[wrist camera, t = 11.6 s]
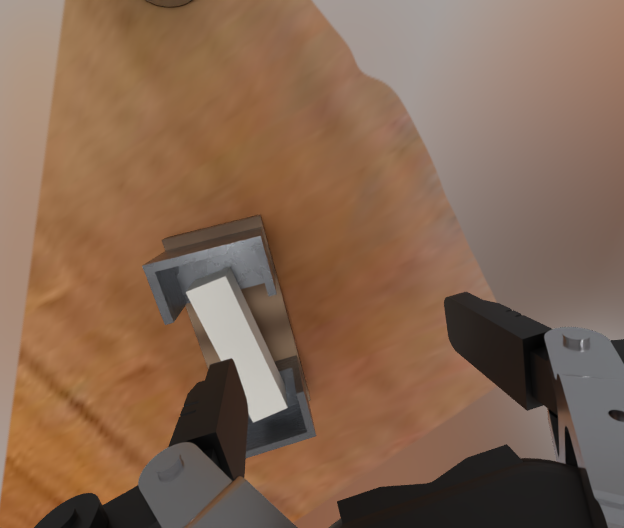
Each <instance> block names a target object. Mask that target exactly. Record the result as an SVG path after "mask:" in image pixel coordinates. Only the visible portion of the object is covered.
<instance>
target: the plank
mask: <svg viewBox="0 0 624 528" xmlns="http://www.w3.org/2000/svg"><path fill="white" fill-rule="evenodd" d="M258 227H261V228H262V232H263V235H264V239H265V243H266V246H267V250H268V253H269V257H270V261H271V264H272V268H273V272H274V276H275V284H276V292H277V295H273V296H270V297H269V296H268V293H267V289H266V286H265V283H262V284H259V285H255V286H251V287H247V288H244V289H241V292H242V294H243V296H244V298H245V300H246V302H247V304H248V307H249V309H250V311H251V313H252V315H253V317H254V320H255V322H256V324H257V326H258V328H259V330H260V332H261V335H262V337H263V339H264V341H265V343H266V345H267V347H268V350H269V352H270V354H271V356H272V358H273V360H274V362H275V361H278V360H281V359H285V358H288V357H292V356H295V355H297V359H298V363H299V366H300V370H301V374H302V377H303V381H304V385H305V388H306V392H307V396H308V401H310V396H309V392H308V388H307V384H306V381H305V377H304V373H303V370H302V366H301V362H300V359H299V355H298V351H297V348H296V344H295V340H294V337H293V333H292V329H291V326H290V322H289V318H288V315H287V311H286V307H285V304H284V300H283V296H282V293H281V289H280V285H279V282H278V278H277V274H276V271H275V267H274V263H273V260H272V256H271V252H270V249H269V245H268V241H267V238H266V234H265V230H264V227H263V223H262V219H261V216H260V215H256V216H252V217H248V218H244V219H240V220H236V221H232V222H228V223H224V224H220V225H216V226H212V227H208V228H203V229H199V230H195V231H191V232H187V233H183V234H179V235H175V236H171V237H167V238H165V239H163V240H162V242H163V245H164V248H165V251H167V250H170V249H174V248H178V247H182V246H186V245H190V244H194V243H198V242H202V241H206V240H210V239H214V238H218V237H222V236H226V235H230V234H234V233H238V232H242V231H246V230H250V229H254V228H258ZM185 306H186V309H187V312H188V314H189V317H190V320H191V323H192V325H193V328H194V331H195V334H196V337H197V339H198V342H199V345H200V348H201V350H202V353H203V356H204V359H205V361H206V364H207V367H208V369H209V366H210V364H213V363H216V362H220V361H221V360H220V358H219V356H218V354H217V352H216V350H215V348H214V346H213V344H212V342H211V340H210V339H209V337H208V335H207V333H206V331H205V329H204V327H203V325H202V323H201V321H200V319H199V317H198V315H197V313H196V312H195V310H194V308H193V306H192V304H191V303H187V304H186V305H185Z"/></svg>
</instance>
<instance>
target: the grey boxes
mask: <svg viewBox="0 0 624 528" xmlns="http://www.w3.org/2000/svg"><path fill="white" fill-rule="evenodd" d="M142 267H143V269H144V272H145V274H146V277H147V280H148V282H149V285H150V287H151V290H152V292H153V295H154V298H155V300H156V303H157V305H158V308H159V311H160V313H161V316H162V318H163V321H164V324H165V325H166V324H170V323H174V321H175V320H176V318H177V317H178V315H179V314H180V312H181V311H182V309H183V308H184V307H185V305H186V304H187V303H191V302H190V300H189V298H188V296H187V294H186V291H187V290H188V288H189V287H190V286H191V284H192V283H193V282H194V281H195V280H197V279H200V278H202V277H205V276H207V275H210V274H212V273H215V272H217V271H220V270H222V269H225V268H227V267H230V268H231V270H232V272H233V274H234V277H235V279H236V281H237V283H238V285H239V287H240V289H244V288H247V287H251V286H255V285H259V284H262V283H265V286H266V289H267V293H268V296H269V297H270V296H273V295H277V292H276V284H275V276H274V272H273V268H272V264H271V261H270V257H269V253H268V250H267V246H266V243H265V239H264V235H263V232H262V228H261V227H258V228H254V229H250V230H246V231H242V232H238V233H234V234H230V235H226V236H222V237H218V238H214V239H210V240H206V241H202V242H198V243H194V244H190V245H186V246H182V247H178V248H174V249H170V250H167V251H165V252H163V253H162V254H160V255H159V256H157V257H155V258H154V259H152V260H151V261H149V262H147V263H146V264H144V265H143V266H142ZM274 363H275V365H276V367H277V369H278V371H279V373H280V375H281V378H282V380H283V382H284V384H285V388H286V396H287V405H288V408H286V409H284V410H282V411H279V412H277V413H275V414H272V415H270V416H268V417H265V418H263V419H261V420H258V421H256V422H254V423H253V421H252V419H251V418H250V416H249V414H248V428H247V443H246V458H248V457H251V456H255V455H258V454H261V453H264V452H267V451H270V450H274V449H277V448H280V447H283V446H286V445H290V444H293V443H296V442H299V441H302V440H305V439H309V438H312V437H315V436H316V433H315V429H314V424H313V419H312V415H311V410H310V405H309V401H308V396H307V392H306V388H305V385H304V381H303V377H302V374H301V370H300V366H299V363H298V359H297V355H295V356H292V357H288V358H285V359H281V360H278V361H275V362H274Z"/></svg>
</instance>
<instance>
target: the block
mask: <svg viewBox="0 0 624 528" xmlns="http://www.w3.org/2000/svg"><path fill="white" fill-rule="evenodd" d="M186 294H187V296H188V298H189V300H190V302H191V304H192V306H193V308H194V310H195V312H196V313H197V315H198V317H199V319H200V321H201V323H202V325H203V327H204V329H205V331H206V333H207V335H208V337H209V339H210V340H211V342H212V344H213V346H214V348H215V350H216V352H217V354H218V356H219V358H220V360H221V361H223V360H227V359H230V358H232V359H233V360H234V362H235V365H236V368H237V371H238V374H239V377H240V380H241V383H242V386H243V389H244V392H245V395H246V399H247V404H248V414H249V416H250V418H251V419H252V421H253V423H254V422H256V421H258V420H261V419H263V418H265V417H268V416H270V415H272V414H275V413H277V412H279V411H282V410H284V409H286V408H288V405H287V396H286V388H285V384H284V382H283V380H282V378H281V375H280V373H279V371H278V369H277V367H276V365H275V363H274V360H273V358H272V356H271V354H270V352H269V350H268V347H267V345H266V343H265V341H264V339H263V337H262V335H261V332H260V330H259V328H258V326H257V324H256V322H255V320H254V317H253V315H252V313H251V311H250V309H249V307H248V304H247V302H246V300H245V298H244V296H243V294H242V292H241V289H240V287H239V285H238V283H237V281H236V279H235V277H234V274H233V272H232V270H231V268H230V267H227V268H225V269H222V270H220V271H217V272H215V273H212V274H210V275H207V276H205V277H202V278H200V279H197V280H195V281H194V282H193V283H192V284H191V286H190V287H189V288H188V290H187V291H186Z"/></svg>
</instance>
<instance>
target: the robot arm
mask: <svg viewBox="0 0 624 528" xmlns="http://www.w3.org/2000/svg"><path fill="white" fill-rule="evenodd" d="M146 1H148V2H151V3H153V4H156V5H160V6H165V7H173V6H180V5H183V4H186V3H188V2H190V1H191V0H146ZM444 307H445V315H446V323H447V330H448V337H449V340H450V343H451V345H452V346H453V348H454V349H455V351H456V352H458V353H459V354H460V355H461V356H462V357H464V358H465V359H466V360H467V361H468V362H469V363H471V364H472V365H473V366H474V367H475V368H477V369H478V370H479V371H480V372H481V373H483V374H484V375H485V376H486V377H487V378H489V379H490V380H491V381H492V382H493V383H495V384H496V385H497V386H498V387H499V388H501V389H502V390H503V391H504V392H505V393H507V394H508V395H509V396H510V397H511V398H513V399H514V400H515V401H516V402H517V403H519V404H520V405H521V406H522V407H523V408H525V409H526V410H530V409H533V408H536V407H540V406H543V405H544V406H546V407H547V409H548V422H549V426H550V431H551V436H552V442H553V446H554V451H555V456H556V461H557V462H555V461H551V460H542V459H531V458H522V459H520V458H519V457H518V456H517V455H516V454H515V452H513V450H512V449H511V448H510V447H509V446H508V445H504V446H501V447H498V448H495V449H492V450H489V451H486V452H483V453H480V454H477V455H474V456H471V457H468V458H466V459H464V460H463V461H462V462H460V463H459V464H457V465H456V466H454V467H453V468H452V469H450V470H449V471H447V472H446V473H445V474H443V475H442V476H440V477H439V478H437V479H436V480H434V481H433V482H430V483H427V484H415V485H401V486H387V487H379V488H376V489H373V490H370V491H367V492H364V493H361V494H358V495H355V496H352V497H349V498H346V499H343V500H340V501H337V504H338V508H339V512H340V516H341V519H339V520H338V521H337V522H335V523H334V524H333V525H331V526H330V527H329V528H624V339H623V340H611V341H610V340H609V339H608V338H607V337H606V336H604V335H602V334H600V333H598V332H596V331H593V330H589V329H584V328H578V327H577V328H576V327H560V328H555V329H551V328H549V327H547V326H545V325H543V324H541V323H539V322H537V321H534V320H532V319H531V318H528V317H526V316H522V315H521V314H520V313H518V312H516V311H512V310H511V309H510V308H508V307H506V306H503V305H501V304H499V303H495V302H490V301H486V300H482V299H480V298H478V297H476V296H474V295H472V294H470V293H468V292H463V293H460V294H456V295H453V296H449V297H446V298H445V300H444ZM180 415H181V417H179V420H178V422H177V425H176V428H175V430H174V433H173V436H172V438H171V441H170V444H169V447H168V448H167V449H165V450H163V451H162V452H160V453H159V454H158V455H156V456H155V457H154V458H153V459H152V460H151V461H150V462H149V463H148V464H147V465H146V467H145V468H144V469H143V471H142V473H141V475H140V478H139V482H138V485H137V486H136V487H134V488H133V489H131V490H129V491H127V492H126V493H124V494H122V495H120V496H118V497H117V498H115V499H113V500H111V501H109V502H108V503H106V504H104V505H102V504H101V502H100V500H99V498H98V496H96V495H95V494H93V493H86V494H81V495H78V496H75V497H73V498H71V499H69V500H67V501H65V502H64V503H62V504H60V505H59V506H58V507H56V508H55V509H53V510H52V511H51V512H50V513H48V514H47V515H46V516H45V517H44V518H43V519H42V520H41V521H40V522H39V523H38V524H37V525H36V526H35V527H34V528H297V527H296V526H295V525H294V524H293V523H292V522H291V521H290V520H289V519H288V518H286V517H285V516H284V515H283V514H282V513H281V512H280V511H279V510H278V509H277V508H276V507H275V506H274V505H272V504H271V503H270V502H269V501H268V500H267V499H266V498H265V497H264V496H263V495H262V494H261V493H260V492H258V491H257V490H256V489H255V488H254V487H253V486H252V485H251V484H250V483H249V482H248V481H247V480H245V479H244V474H245V459H246V443H247V428H248V404H247V399H246V395H245V392H244V389H243V386H242V383H241V380H240V377H239V374H238V371H237V368H236V365H235V362H234V360H233V359H232V358H230V359H227V360H223V361H220V362H216V363H213V364H210V366H209V369H208V373H207V376H206V379H205V381H202V382H198V383H197V384H196V385H195V386H194V387H193V389H192V390H191V391H190V392H189V393H188V395H187V398H186V401H185V403H184V407H183V409H182V411H181V414H180Z"/></svg>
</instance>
